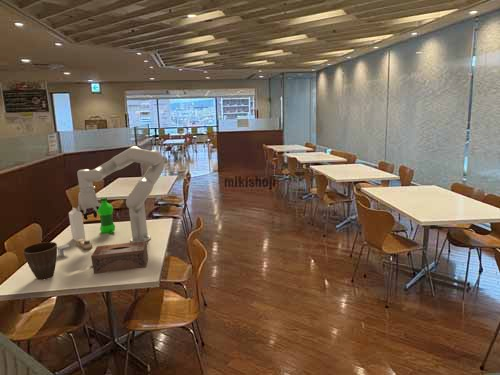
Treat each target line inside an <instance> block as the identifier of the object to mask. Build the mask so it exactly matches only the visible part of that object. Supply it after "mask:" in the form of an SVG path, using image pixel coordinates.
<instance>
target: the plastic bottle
mask: <svg viewBox="0 0 500 375" xmlns="http://www.w3.org/2000/svg"><path fill="white" fill-rule="evenodd" d="M99 199H100V202H101V203H100V204H101V206H100V207H99V208H98V210H97V215H99V220H100V228H99V231H100V232H101V233H102V234H108V235H112V234H113V233H114V232H115V229H116V225H115V223H114V220H113V219H114V218H113V212H114V207H113V205H112V204H111V203H109V202H108V197H107V196H104V197H100V198H99Z"/></svg>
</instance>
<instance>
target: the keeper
mask: <svg viewBox="0 0 500 375" xmlns="http://www.w3.org/2000/svg"><path fill="white" fill-rule="evenodd" d="M67 249H71V246H70V245H69V244H68V243H67V244H64V245H60V246H57V256H59V257H60V258H64V257H65V254H64V250H67Z"/></svg>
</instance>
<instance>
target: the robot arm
mask: <svg viewBox="0 0 500 375" xmlns="http://www.w3.org/2000/svg"><path fill="white" fill-rule="evenodd" d="M133 163H138V164H143V165H147V166H148V168H147V170H146V171H145V173H144V174H143V176H142V177H141V178H139V180H138V182H137V183H136V184H135V186H134V188H133V189H132V191H131V192H130V193H129V194H128V196H127V198H126V199H125V200H126V201H125V205H126V207H127V209H128V212H129V221H130V228H131V230H130V231H131V236H132V237H131V238H129V241H130V242H129V243H131V242H140V241H146V242H148V241H150V240H151V235H149V234H148V227H147V226H148V224H147V216H146V215H147V214H146V205H145V201H146V200H147V198H148V197H149V196H150V195H151V193H152V191H153V189H154V186H155V184H156V183H157V182H158V180H159V178H160V177H161V175H162V173H163V171H164V168H165V159H164V157H163V155H162V153H161V152H160V151H159V150H157V149H152V150H148V149H142V148H140V147H139V146H136V145H133V146H130V147H129V148H127V149H126V150H124V151H122V152H120V153H119V154H117V155H115V156H113V157H112V158H111V159H109V160H108V161H106V162H104V163H102V164H101V165H99V166H97V167H96V168H93V169H89V168H84V169H79V170H78V171H77V172H76V173H77V180H78V186H79V192H78V206H77V207H76V210H77V211H79V212H82V217H83V219H84V220H85V221H88V220H89V219H88V214H87V209H92V213H93V217H94V218H96V219H97V216H98V213H97V210H98V208H99V207H100V206H101V203H100V202H99V201H98V197H97V194H96V191H95V189H96V186H95V185H93V184H94V183H93V182H100V181H102V180H103V179H104V178H106V177H108V176H109V175H111V174H112V173H114V172H116V171H120V170H122V169H124V168H127V167H128V166H129V165H131V164H133Z"/></svg>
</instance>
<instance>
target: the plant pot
mask: <svg viewBox="0 0 500 375" xmlns="http://www.w3.org/2000/svg"><path fill="white" fill-rule="evenodd" d="M57 247H58V244H57V243H56V242H55V241H47V242H45V241H43V242H39V243H35V244H32V245H29V246H27V247H25V248H23V250H22V252H23V255H24V257H25V261H26V263H27V266H28V267H29V269H30V271H31V272H32V273H33V275H34V277H35V278H36V279H37V280H39V281H45V280H48V278H49V279H51V278H53V276H54V275H55V271H56V266H57V260H58V259H57V258H58V249H57ZM44 279H45V280H44Z"/></svg>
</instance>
